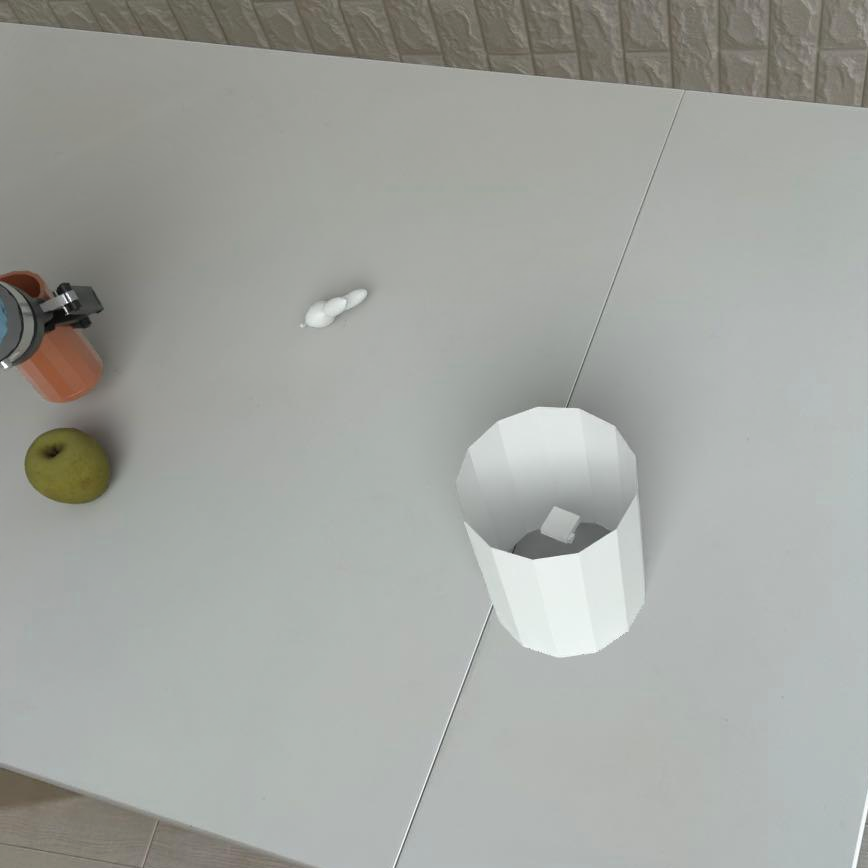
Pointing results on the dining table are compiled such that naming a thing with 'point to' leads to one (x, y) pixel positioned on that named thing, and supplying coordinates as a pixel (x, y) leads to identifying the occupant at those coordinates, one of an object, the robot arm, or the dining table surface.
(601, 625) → the container
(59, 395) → the cup
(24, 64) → the dining table surface
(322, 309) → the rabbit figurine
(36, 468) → the apple
